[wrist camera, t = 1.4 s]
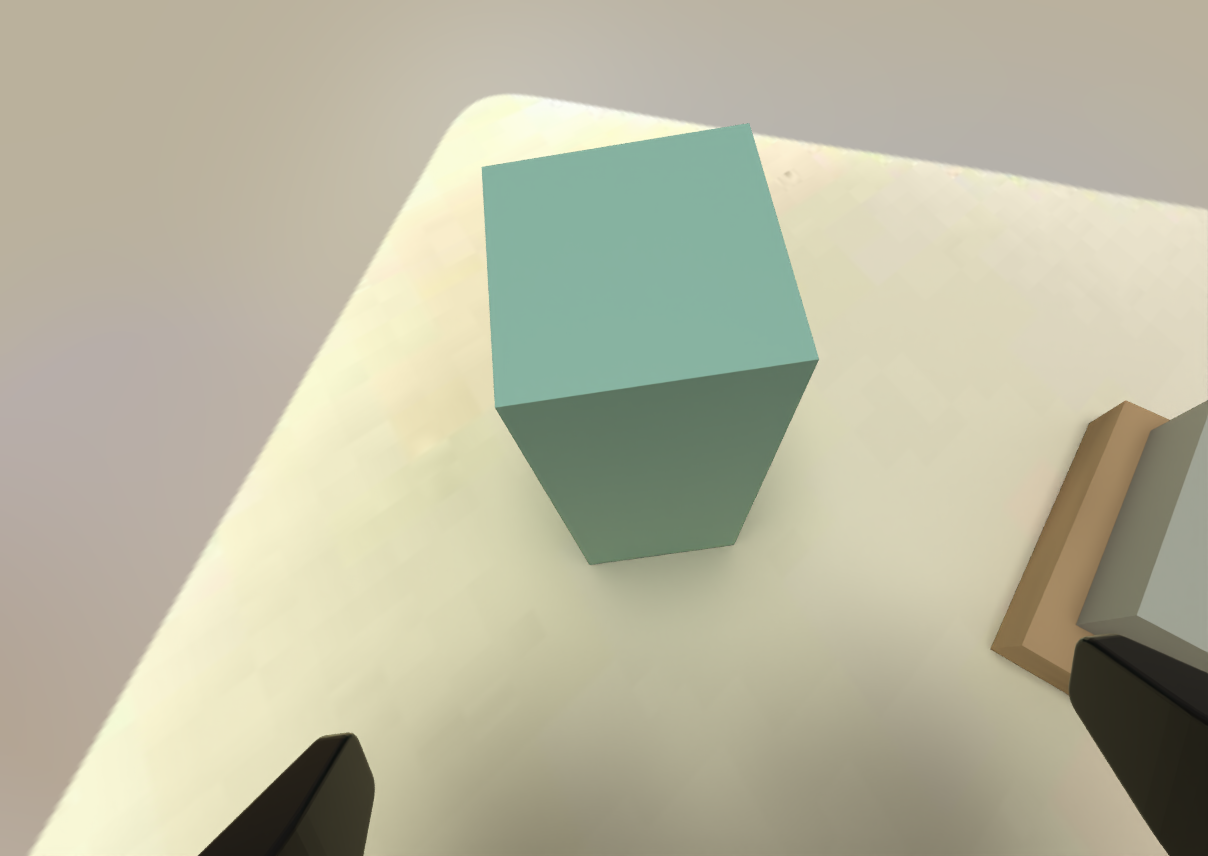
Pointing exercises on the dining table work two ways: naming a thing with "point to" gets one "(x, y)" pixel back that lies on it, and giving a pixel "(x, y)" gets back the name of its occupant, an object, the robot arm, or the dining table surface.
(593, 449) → the tall teal block
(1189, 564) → the tower middle block
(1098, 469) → the tower base block
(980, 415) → the dining table surface
